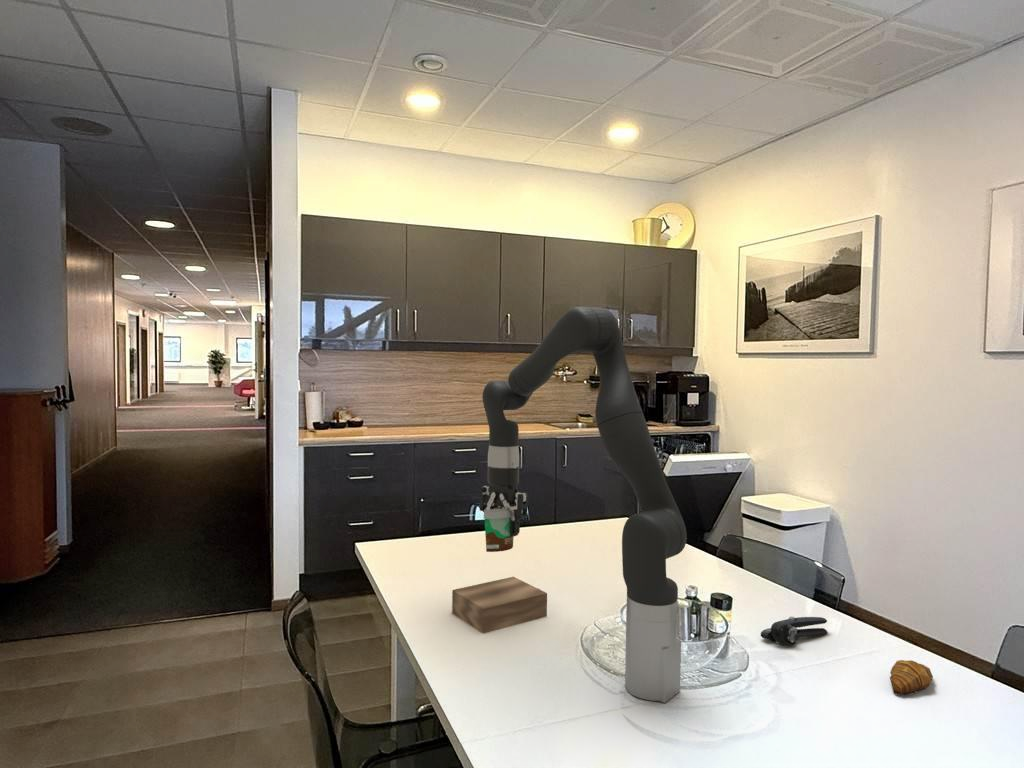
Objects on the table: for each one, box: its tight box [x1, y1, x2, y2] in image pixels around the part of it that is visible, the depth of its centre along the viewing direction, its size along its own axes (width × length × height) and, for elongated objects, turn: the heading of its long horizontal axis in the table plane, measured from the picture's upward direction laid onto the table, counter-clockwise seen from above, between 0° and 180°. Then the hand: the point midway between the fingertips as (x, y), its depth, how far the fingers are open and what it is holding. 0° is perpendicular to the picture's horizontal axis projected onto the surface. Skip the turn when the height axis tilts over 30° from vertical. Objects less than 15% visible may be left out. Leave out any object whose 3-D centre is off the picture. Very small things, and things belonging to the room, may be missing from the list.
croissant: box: [889, 659, 934, 696], centre depth 119 cm, size 14×7×5 cm, turn 127°
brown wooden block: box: [451, 576, 548, 634], centre depth 150 cm, size 14×18×6 cm
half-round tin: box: [483, 505, 515, 553], centre depth 150 cm, size 12×6×10 cm, turn 164°
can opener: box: [760, 616, 828, 647], centre depth 139 cm, size 18×7×6 cm, turn 114°
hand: (502, 532), depth 150 cm, fingers closed on half-round tin, 7 cm apart
